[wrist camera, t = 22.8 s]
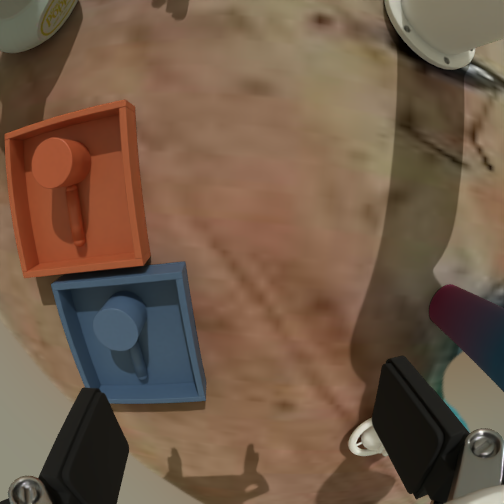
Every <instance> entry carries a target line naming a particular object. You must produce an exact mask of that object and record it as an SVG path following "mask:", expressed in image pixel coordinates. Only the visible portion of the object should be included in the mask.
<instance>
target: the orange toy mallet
mask: <svg viewBox="0 0 504 504" xmlns="http://www.w3.org/2000/svg"><path fill="white" fill-rule="evenodd" d="M90 166H91V156H90V152H89V150H88V148H87V147H86V146H85V145H84V144H83V143H81V142H79V141H74V140H68V139H62V138H56V137H53V138H49V139H46V140H44V141H43V142H42V143H41V144H40V145H39V146H38V147H37V149H36V150H35V152H34V155H33V158H32V173H33V176H34V178H35V180H36V182H37V183H38V184H39V185H40V186H42V187H44V188H47V189H53V188H60V187H66V189H65V193H66V201H67V208H68V215H69V222H70V228H71V234H72V239H73V243H74V245H75V246H77V247H81V246H83V245H84V244H85V234H84V227H83V221H82V215H81V208H80V200H79V192H78V187H77V184H79V183H80V182H82V181H83V180H84V179H85V178H86V176H87V175H88V173H89V170H90Z"/></svg>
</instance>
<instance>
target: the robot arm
mask: <svg viewBox="0 0 504 504" xmlns="http://www.w3.org/2000/svg"><path fill="white" fill-rule="evenodd" d="M384 1H385V7H386V11H387V14H388V16H389V18H390V21H391V23H392V24H393V26H394V28H395V29H396V31H397V33H398V34H399V35H400V37H401V38H402V39H403V41H404V42H405V43H406V44H407V45H408V46H409V47H410V48H411V49H412V50H413V51H414V52H415V53H416V54H418V55H419V56H420V57H421V58H423V59H424V60H426V61H427V62H429V63H430V64H433V65H435V66H436V67H439V68H443V69H448V70H454V69H459V68H462V67H464V66H466V65H467V64H469V63H470V62H471V60H472V58H473V57H474V53H475V48H477V47H480V46H483V45H486V44H489V43H492V42H495V41H498V40H501V39H504V0H384ZM372 425H373V427H374V429H375V431H376V433H377V435H378V437H379V439H380V441H381V442H382V444H383V446H384V448H385V450H386V452H387V454H388V456H389V457H390V459H391V461H392V463H393V465H394V467H395V469H396V471H397V473H398V475H399V476H400V478H401V480H402V482H403V484H404V486H405V488H406V490H407V492H408V493H409V494H412V493H413V494H414V496H415V498H416V499H418V498H421V497H423V496H425V495H427V494H428V495H429V497H430V499H431V503H430V504H504V441H503V439H502V437H501V436H500V435H499V434H498V433H497V432H495V431H494V430H491V429H486V428H481V429H477V430H474V431H473V432H471V433H469V432H468V431H467V429H466V428H465V427H464V426H463V424H462V423H461V422H460V421H459V420H458V418H457V417H456V416H455V415H454V413H453V412H452V411H451V410H450V408H449V407H448V406H447V405H446V404H445V402H444V401H443V400H442V399H441V398H440V396H439V395H438V394H437V393H436V392H435V390H434V389H433V388H432V387H431V386H430V385H429V384H428V383H427V382H426V381H425V379H424V378H423V377H422V376H421V375H420V374H419V372H418V371H417V370H416V369H415V368H414V367H413V365H412V364H411V363H410V362H409V361H408V360H407V358H406V357H404V356H399V357H395V358H391V359H388V360H387V361H386V364H384V365H383V366H382V369H381V375H380V380H379V386H378V391H377V396H376V401H375V406H374V410H373V415H372ZM128 453H129V445H128V442H127V440H126V438H125V436H124V434H123V432H122V430H121V428H120V426H119V424H118V422H117V419H116V417H115V415H114V413H113V410H112V408H111V406H110V404H109V401H108V399H107V396H106V394H105V393H102V392H101V390H100V389H98V388H82V389H81V391H80V393H79V395H78V397H77V399H76V401H75V402H74V404H73V406H72V408H71V410H70V412H69V414H68V416H67V418H66V420H65V422H64V424H63V426H62V428H61V430H60V432H59V434H58V436H57V438H56V441H55V443H54V445H53V447H52V449H51V451H50V453H49V456H48V457H47V460H46V462H45V464H44V466H43V469H42V471H41V473H40V475H39V478H36V477H33V476H22V477H20V478H18V479H16V480H15V481H14V482H13V483H12V484H11V486H10V487H9V491H8V497H9V498H8V499H6V500H3V501H1V502H0V504H117V500H118V495H119V491H120V486H121V482H122V478H123V474H124V470H125V465H126V461H127V457H128Z"/></svg>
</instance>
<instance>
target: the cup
mask: <svg viewBox="0 0 504 504" xmlns="http://www.w3.org/2000/svg"><path fill="white" fill-rule="evenodd" d="M429 316H430V319H431V320H432V322H433V323H435V324H436V325H437V326H438V327H439V328H440V329H441V330H442V331H443V332H444V333H445V334H446V335H447V336H448V337H449V338H450V339H451V340H453V341H454V342H455V343H456V344H457V345H458V346H459V347H460V348H461V349H462V350H463V351H464V352H465V353H466V354H467V355H468V356H469V357H470V358H471V359H472V360H473V361H474V362H475V363H476V364H477V365H478V366H479V367H480V368H481V369H482V370H483V371H484V372H485V373H486V374H487V375H488V376H489V377H490V378H491V379H492V380H493V381H494V382H495V383H496V384H497V385H498V386H499V387H500V388H501V390H503V392H504V308H502V307H500V306H498V305H496V304H494V303H492V302H490V301H487V300H485V299H483V298H481V297H479V296H477V295H474V294H472V293H470V292H468V291H466V290H463V289H461V288H459V287H457V286H455V285H451V284H450V285H446V286H443V287H442V288H441V289H439V290H438V291H437V293H436V294H435V295H434V297H433V299H432V301H431V303H430V307H429Z"/></svg>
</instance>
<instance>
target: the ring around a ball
mask: <svg viewBox="0 0 504 504" xmlns="http://www.w3.org/2000/svg"><path fill="white" fill-rule="evenodd" d="M360 435H361V441H362V442H360V443H358V444H356V442H357V439H358V438H359V436H360ZM360 444H363V445H364V446H365V447H366V448H367V449H360V448H358V447H357V446H358V445H360ZM348 446H349V449H350V451H351V452H352V453H354V454H355V455H358V456H370V455H374V454H377V453H382V454H383V456H388V454H387V452H386V450H385V448H384V446H383V444H382V442H381V441H380V439H379V437H378V435H377V433H376V431H375V429H374V427H373V425H372V418H370V419H368V420H366V421H365V422H363V423H362V424H360V425H359V426H358V427H357V428H356V429H355V430H354V432H353V433H352V434H351V436H350V438H349V442H348Z"/></svg>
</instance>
